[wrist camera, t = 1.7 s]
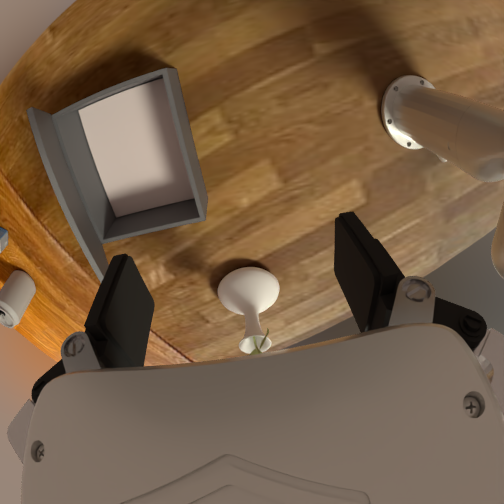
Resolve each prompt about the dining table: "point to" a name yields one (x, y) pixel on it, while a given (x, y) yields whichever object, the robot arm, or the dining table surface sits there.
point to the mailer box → (134, 157)
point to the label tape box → (3, 239)
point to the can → (15, 298)
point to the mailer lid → (66, 189)
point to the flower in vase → (250, 302)
